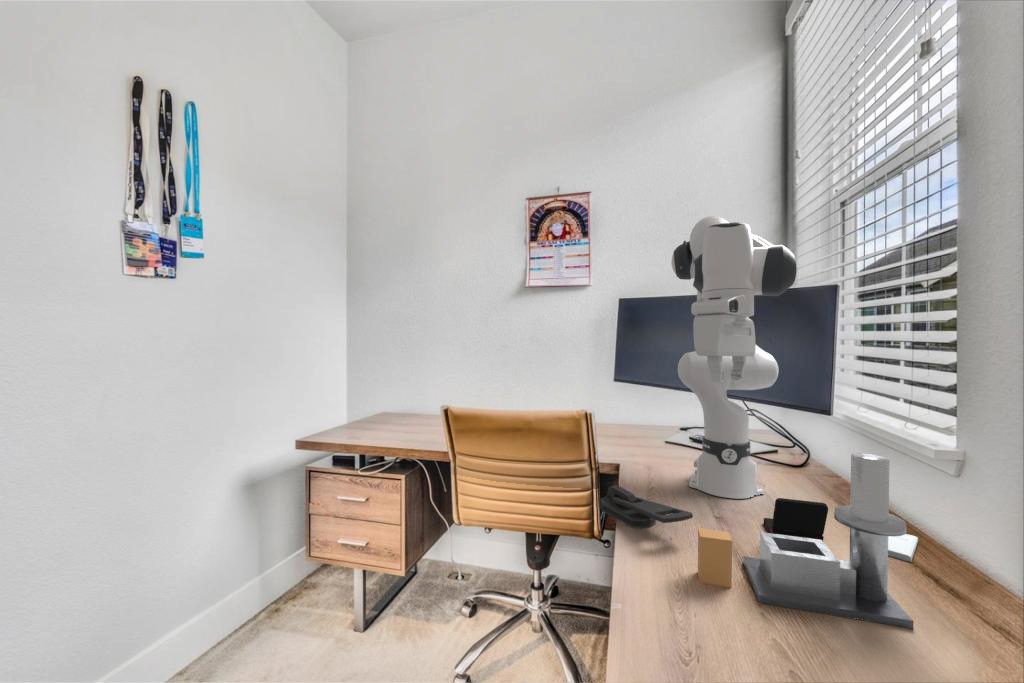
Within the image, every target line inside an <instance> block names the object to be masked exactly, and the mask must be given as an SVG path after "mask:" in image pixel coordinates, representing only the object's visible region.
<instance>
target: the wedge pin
mask: <svg viewBox="0 0 1024 683" xmlns="http://www.w3.org/2000/svg"><path fill="white" fill-rule="evenodd" d="M732 567H733V539H732V536H731V535H730V532H729V531H722V530H716V529H715V530H714V529H707V528H700V527H699V528H697V574H698V575H697V576H698V582H699V583H700V584H707V585H713V586H719V587H726V588H730V589H731V588H732V587H733V585H732V578H733V577H732V576H733V571H732V570H733V568H732Z"/></svg>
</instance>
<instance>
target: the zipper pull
mask: <svg viewBox="0 0 1024 683" xmlns="http://www.w3.org/2000/svg"><path fill="white" fill-rule="evenodd" d="M599 500H600V501H599V502H600V506H599V508H600V509H601V512H603V513H604V514H606V515H608V516H609V517H612V518H613V519H615V520H617V521H619V522H620V523H623V524H624V525H626V526H628V527H630V528H631V529H632V528H633V529H647V528H652V527H653V526H654V525H656V523H657V522H660V523H661V524H669V523H677V522H682V521H687V520H690V519H693V517H694V516H693V512H691V511H687V510H684V509H680V508H677V507H673V506H671V505H670V506H669V505H666V504H662V503H659V502H656V501H651V500H648V499H646V498H645V499H644V498H642V497H638V496H636V495H635V494H634V493H633V492H631V491H629V490H627V489H625V488H623V487H622V486H619V485H618V484H617V485H616V484H615V485H610V486H608V488H607V493H606V496H603V497H601V498H599Z"/></svg>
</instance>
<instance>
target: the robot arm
mask: <svg viewBox="0 0 1024 683" xmlns="http://www.w3.org/2000/svg"><path fill="white" fill-rule="evenodd" d="M751 232H752V231H751V227H750V225H749V224H748V223H745V222H729V221H728V220H727V219H725V218H723V217H721V216H717V215H711V216H710V215H709V216H706V217H703V218H701V219H699V220H698V221H697V223H696V224H695V225H694V226H693V228H692V229H691V233H690V236H689V241H686V240H683V243H681V244H679V245H678V246H677V247H676V248H675V249H674V250H673V253H672V256H671V269H672V271H673V272H674V274H675V276H676V277H677V278H678V279H680V280H689V281H690V280H692V279H693V284H692V286H693V288H695V289H696V290H697V292H696V301H694V302H693V303H692V304H691V307H690V308H691V314H692V315H693V316H694V318H693V326H692V327H693V331H692V332H693V344H694V345H693V346H694V351H690V352H685V353H684V354H683V355H682V356H681V358H680V359H679V361H678V364H677V374H678V378H679V380H680V382H682V384H683V385H684V386H686V387H687V388H688V389H690V390H691V391H692V393H694V394H695V396H696V397H697V399H698V401H699V402H700V405H701V408H702V412H703V413H702V414H703V427H704V431H703V433H704V435H703V437H702V441H701V446H702V449H701V450H702V452H701V454H700V455H699V456H698V457H697V459H695V458H694V459H693V467H694V468H696V469H694V472H693V473H692V476H691V478H690V480H689V482H688V487H690V488H693V489H697V490H699V491H702V492H704V493H706V494H708V495H712V496H716V497H720V498H726V499H727V498H728V499H736V500H737V499H738V500H740V499H741V500H742V499H750V497H751V498H753V497H755V496H754V495H756V496H761V495H760V494H763V495H764V494H765V492H764V489H763V488H761V487H760V486H759V485H758V479H757V478H758V474H757V472H758V471H757V463H756V462H755V460H753V459H752V458H751V457H750V455H751V450H752V448H751V447H752V446H751V441H750V440H749V435H750V434H749V432H750V428H749V427H750V425H749V422H750V421H749V420H750V417H749V414H748V412H747V410H745V408H744V407H742V406H741V405H739V404H738V403H736V402H733V401H731V400H729V398H728V394H727V391H728V390H730V391H755V390H762V389H767V388H771V387H772V386H774V384H775V383H776V381H777V379H778V377H779V365H778V364H779V363H778V362H777V360H776V359H775V358H774V356H773V355H772V354H770V352H766V350H763V348H761V347H760V346H758V344H756V330H755V323H754V321H753V319H751V318H750V317H753V316H754V315H755V296H771V297H779V296H780V295H782V294H784V293H785V292H787V290H788V289H790V288H791V287H792V286H793V285H794V284H795V281H796V278H797V268H798V267H797V259H796V257H795V254H794V253H793V252H792V251H791V250H790V249H789V248H787V247H786V246H784V245H783V244H780V245H779V244H777V245H775V244H773V243H771V242H769V241H768V240H766V239H765V238H762V237H761V236H758V235H756V234H754V233H751Z"/></svg>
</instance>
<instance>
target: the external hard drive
mask: <svg viewBox="0 0 1024 683" xmlns="http://www.w3.org/2000/svg"><path fill="white" fill-rule="evenodd" d="M918 543H919V537H917V536H915V535H912V534H907V533H906V534H905V535H902V536H888V557H892V558H895V559H899V560H902V561H905V562H909V563H912V561H913V558H914V556H915V555H914V554H915V552H916V549H917V546H918Z"/></svg>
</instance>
